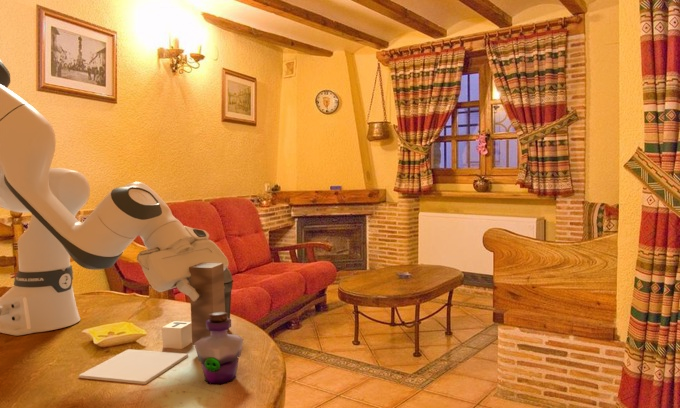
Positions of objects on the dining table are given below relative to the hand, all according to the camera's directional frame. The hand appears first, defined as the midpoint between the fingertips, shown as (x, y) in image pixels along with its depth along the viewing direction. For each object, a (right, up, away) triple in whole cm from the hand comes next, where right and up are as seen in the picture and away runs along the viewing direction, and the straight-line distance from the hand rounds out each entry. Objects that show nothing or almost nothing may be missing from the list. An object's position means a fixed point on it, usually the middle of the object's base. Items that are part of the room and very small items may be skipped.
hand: (210, 294), depth 105 cm
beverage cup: (-2, -11, +16) cm, 19 cm away
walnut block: (0, -10, +1) cm, 10 cm away
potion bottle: (+5, -13, -13) cm, 19 cm away
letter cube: (-8, -12, +6) cm, 16 cm away
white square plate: (-13, -13, -6) cm, 19 cm away
